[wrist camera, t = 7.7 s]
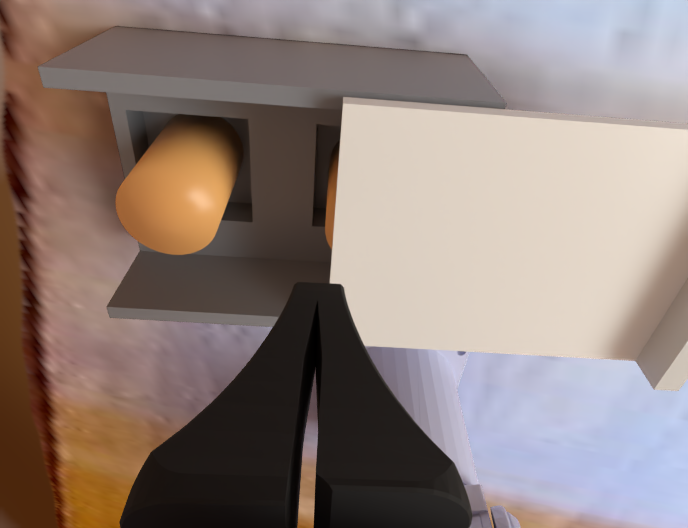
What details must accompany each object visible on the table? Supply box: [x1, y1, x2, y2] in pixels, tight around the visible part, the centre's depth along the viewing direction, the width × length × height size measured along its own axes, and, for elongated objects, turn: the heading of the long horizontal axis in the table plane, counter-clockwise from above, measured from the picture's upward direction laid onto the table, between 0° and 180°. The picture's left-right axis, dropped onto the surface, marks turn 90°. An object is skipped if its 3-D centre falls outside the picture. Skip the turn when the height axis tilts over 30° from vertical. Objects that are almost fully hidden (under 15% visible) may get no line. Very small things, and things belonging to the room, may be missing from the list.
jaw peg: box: [115, 114, 244, 255], centre depth 20 cm, size 4×4×6 cm
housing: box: [38, 26, 507, 327], centre depth 20 cm, size 10×14×6 cm
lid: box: [330, 97, 688, 391], centre depth 17 cm, size 10×14×2 cm
